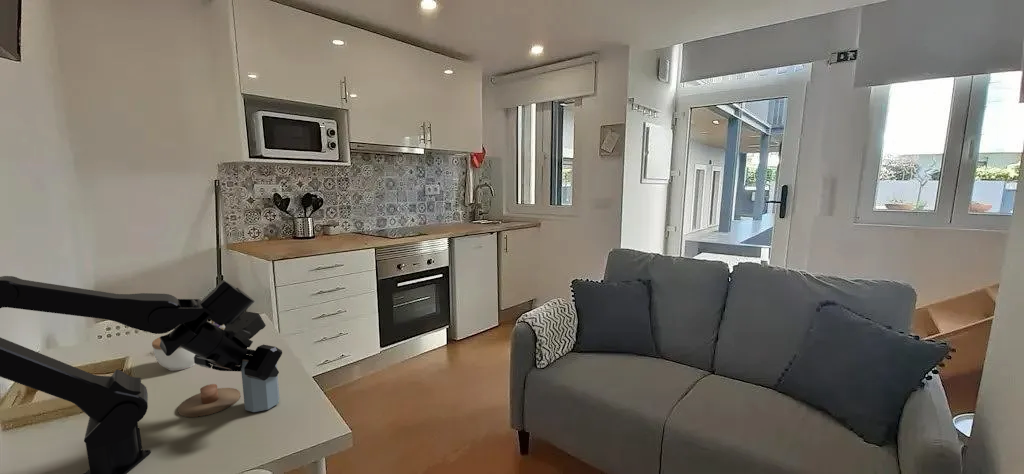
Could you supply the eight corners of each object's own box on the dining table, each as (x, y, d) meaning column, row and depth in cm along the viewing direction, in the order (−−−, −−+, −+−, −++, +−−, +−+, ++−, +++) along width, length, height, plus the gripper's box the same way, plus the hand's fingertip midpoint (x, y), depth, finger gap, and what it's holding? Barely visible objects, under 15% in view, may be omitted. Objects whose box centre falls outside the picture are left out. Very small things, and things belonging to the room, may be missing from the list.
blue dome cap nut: (277, 407, 89) (274, 362, 87) (243, 414, 86) (239, 368, 85) (280, 393, 94) (276, 351, 93) (248, 399, 92) (244, 356, 90)
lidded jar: (179, 376, 103) (174, 340, 102) (144, 373, 105) (139, 337, 104) (217, 358, 114) (214, 325, 112) (185, 355, 116) (181, 322, 114)
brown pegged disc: (221, 415, 86) (219, 399, 86) (164, 418, 85) (162, 401, 85) (250, 389, 97) (248, 374, 96) (200, 391, 96) (198, 376, 96)
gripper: (269, 309, 80) (318, 343, 92) (203, 299, 86) (256, 332, 98) (233, 365, 74) (290, 393, 85) (165, 349, 80) (226, 378, 92)
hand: (266, 371), depth 90 cm, fingers closed on blue dome cap nut, 6 cm apart
